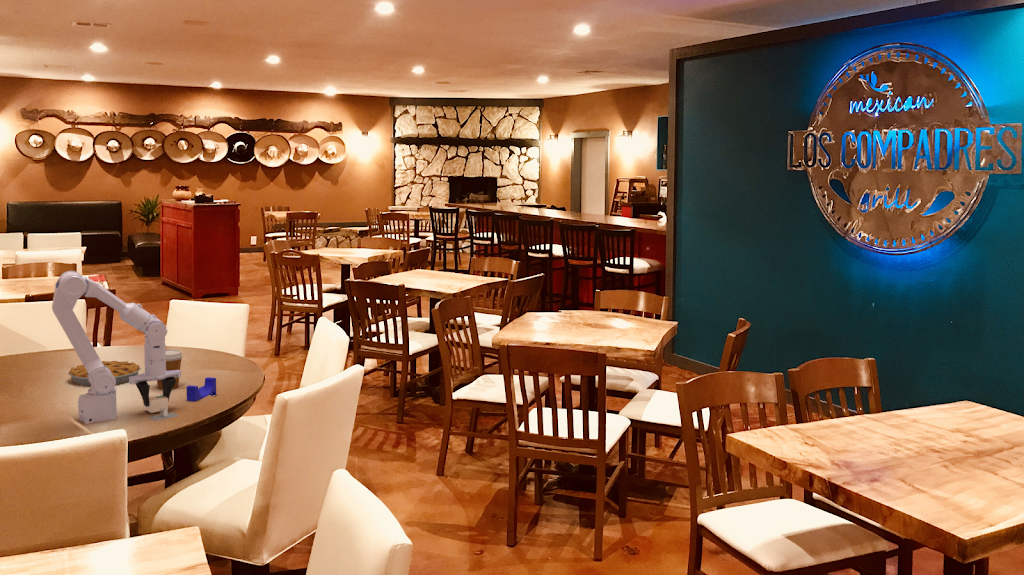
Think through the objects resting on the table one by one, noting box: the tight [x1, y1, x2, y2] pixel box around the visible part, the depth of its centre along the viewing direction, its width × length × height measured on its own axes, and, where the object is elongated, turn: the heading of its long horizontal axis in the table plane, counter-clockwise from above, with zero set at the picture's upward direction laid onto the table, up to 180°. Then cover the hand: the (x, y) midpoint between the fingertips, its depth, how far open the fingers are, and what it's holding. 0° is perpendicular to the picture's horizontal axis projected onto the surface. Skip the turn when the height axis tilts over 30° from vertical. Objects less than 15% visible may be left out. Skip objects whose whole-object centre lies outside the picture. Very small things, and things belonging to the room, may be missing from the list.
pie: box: [67, 360, 142, 387], centre depth 276 cm, size 22×22×5 cm
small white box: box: [143, 394, 169, 414], centre depth 238 cm, size 5×5×4 cm
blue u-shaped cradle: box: [186, 376, 217, 402], centre depth 256 cm, size 12×4×6 cm, turn 170°
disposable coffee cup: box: [156, 349, 184, 390], centre depth 268 cm, size 10×10×12 cm
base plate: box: [148, 411, 179, 422], centre depth 234 cm, size 7×5×1 cm
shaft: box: [159, 408, 169, 418], centre depth 234 cm, size 1×3×2 cm, turn 46°
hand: (156, 404), depth 238 cm, fingers closed on small white box, 5 cm apart
